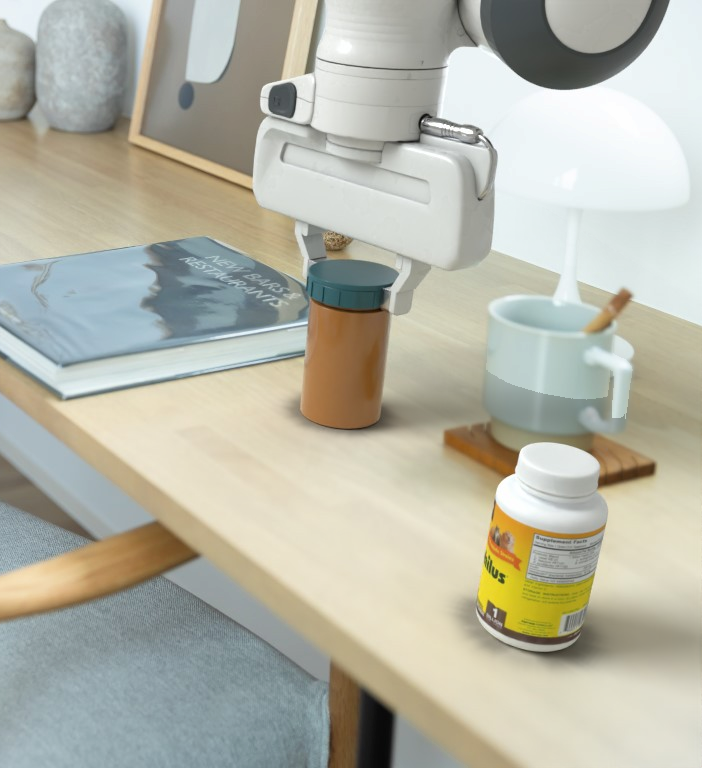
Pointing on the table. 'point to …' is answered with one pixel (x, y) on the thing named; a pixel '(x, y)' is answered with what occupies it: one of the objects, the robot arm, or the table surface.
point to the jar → (344, 365)
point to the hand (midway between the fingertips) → (353, 296)
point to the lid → (349, 282)
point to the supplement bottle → (542, 548)
